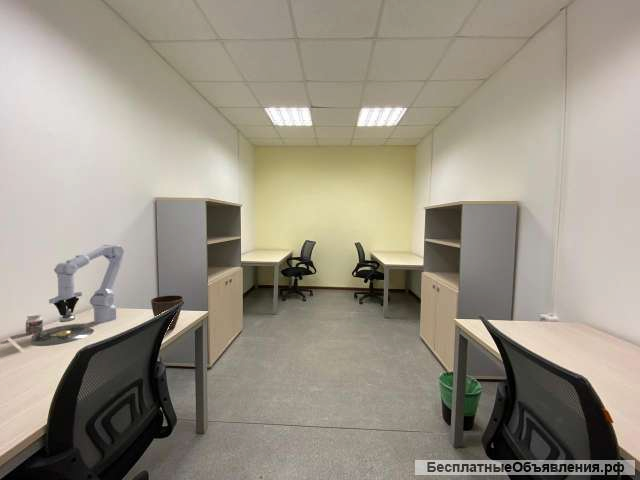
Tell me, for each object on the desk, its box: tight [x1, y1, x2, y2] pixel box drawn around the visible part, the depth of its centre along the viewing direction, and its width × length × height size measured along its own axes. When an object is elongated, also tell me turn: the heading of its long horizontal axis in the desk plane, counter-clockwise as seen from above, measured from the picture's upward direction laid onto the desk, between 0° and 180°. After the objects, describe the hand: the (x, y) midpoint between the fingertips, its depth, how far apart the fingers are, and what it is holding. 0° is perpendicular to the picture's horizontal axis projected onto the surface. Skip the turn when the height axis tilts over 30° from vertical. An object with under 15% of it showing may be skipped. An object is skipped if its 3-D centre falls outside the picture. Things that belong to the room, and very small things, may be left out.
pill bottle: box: [25, 312, 44, 336], centre depth 133 cm, size 6×6×10 cm
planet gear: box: [58, 307, 76, 323], centre depth 132 cm, size 6×6×6 cm
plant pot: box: [150, 294, 184, 331], centre depth 144 cm, size 15×15×16 cm
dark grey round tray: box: [30, 322, 95, 347], centre depth 129 cm, size 22×22×3 cm
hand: (66, 314), depth 132 cm, fingers closed on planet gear, 3 cm apart
